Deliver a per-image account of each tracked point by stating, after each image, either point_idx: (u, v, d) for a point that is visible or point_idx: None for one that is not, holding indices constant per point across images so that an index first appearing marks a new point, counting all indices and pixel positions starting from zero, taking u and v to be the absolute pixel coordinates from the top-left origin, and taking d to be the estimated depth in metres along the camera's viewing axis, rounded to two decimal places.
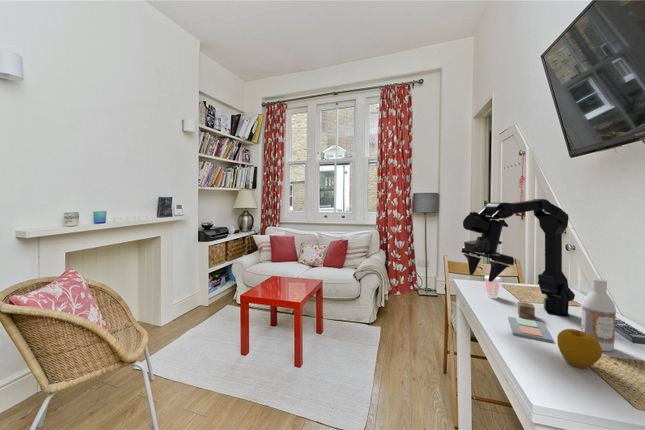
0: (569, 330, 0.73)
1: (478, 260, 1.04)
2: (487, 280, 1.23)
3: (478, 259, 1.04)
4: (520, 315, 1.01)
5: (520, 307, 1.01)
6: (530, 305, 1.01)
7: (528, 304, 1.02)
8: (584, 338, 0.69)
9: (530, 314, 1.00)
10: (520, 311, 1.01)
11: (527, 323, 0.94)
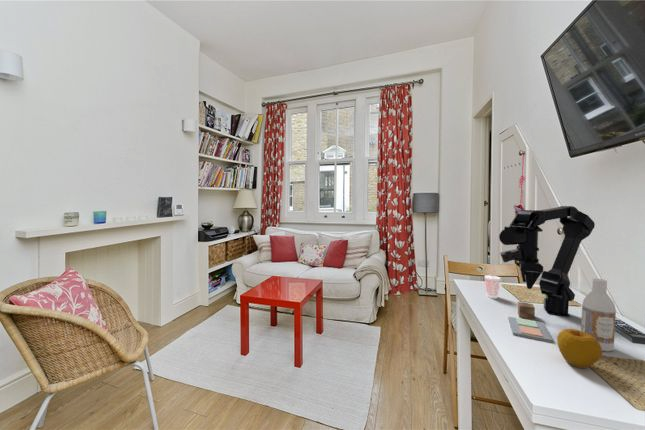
0: (569, 330, 0.73)
1: None
2: (487, 280, 1.23)
3: None
4: (520, 315, 1.01)
5: (520, 307, 1.01)
6: (530, 305, 1.01)
7: (528, 304, 1.02)
8: (584, 338, 0.69)
9: (530, 314, 1.00)
10: (520, 311, 1.01)
11: (527, 323, 0.94)
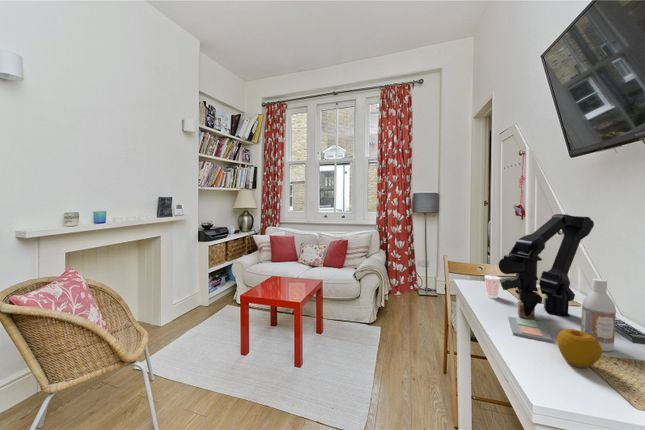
0: (569, 330, 0.73)
1: None
2: (487, 280, 1.23)
3: None
4: (520, 315, 1.01)
5: (520, 307, 1.01)
6: None
7: None
8: (584, 338, 0.69)
9: None
10: (520, 311, 1.01)
11: (527, 323, 0.94)
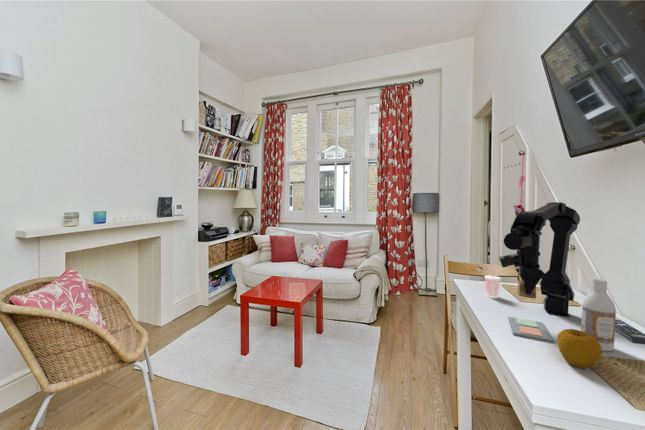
0: (569, 330, 0.73)
1: None
2: (487, 280, 1.23)
3: None
4: (520, 294, 0.94)
5: (520, 285, 0.94)
6: None
7: None
8: (584, 338, 0.69)
9: (531, 292, 0.92)
10: (520, 289, 0.94)
11: (527, 323, 0.94)
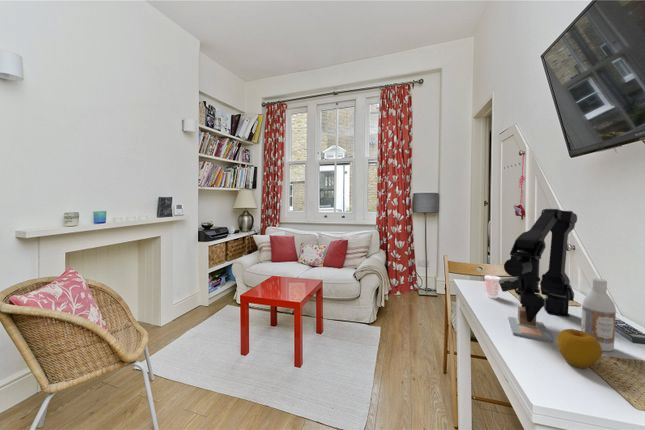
0: (569, 330, 0.73)
1: None
2: (487, 280, 1.23)
3: None
4: (520, 321, 0.93)
5: (520, 312, 0.93)
6: None
7: None
8: (584, 338, 0.69)
9: None
10: (520, 316, 0.93)
11: None
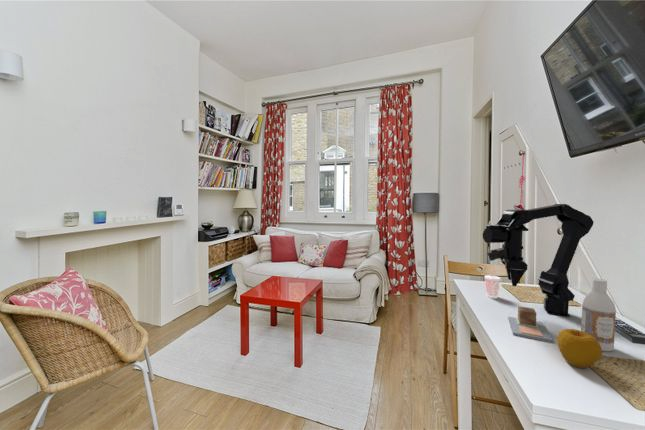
0: (569, 330, 0.73)
1: None
2: (487, 280, 1.23)
3: None
4: (520, 321, 0.93)
5: (520, 312, 0.93)
6: (532, 310, 0.93)
7: (529, 309, 0.94)
8: (584, 338, 0.69)
9: (531, 319, 0.92)
10: (520, 316, 0.93)
11: None
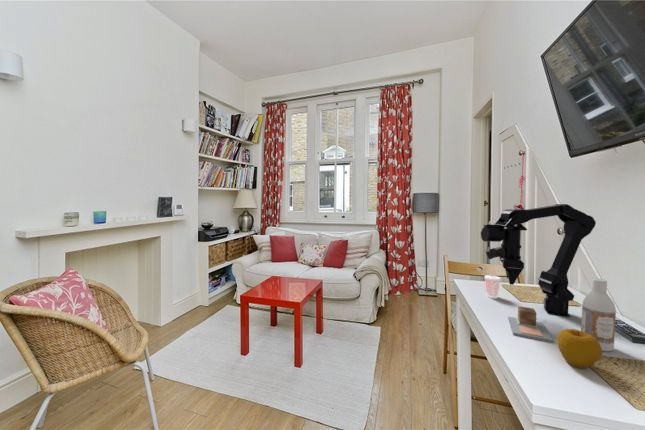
0: (569, 330, 0.73)
1: None
2: (487, 280, 1.23)
3: None
4: (520, 321, 0.93)
5: (520, 312, 0.93)
6: (532, 310, 0.93)
7: (529, 309, 0.94)
8: (584, 338, 0.69)
9: (531, 319, 0.92)
10: (520, 316, 0.93)
11: None
